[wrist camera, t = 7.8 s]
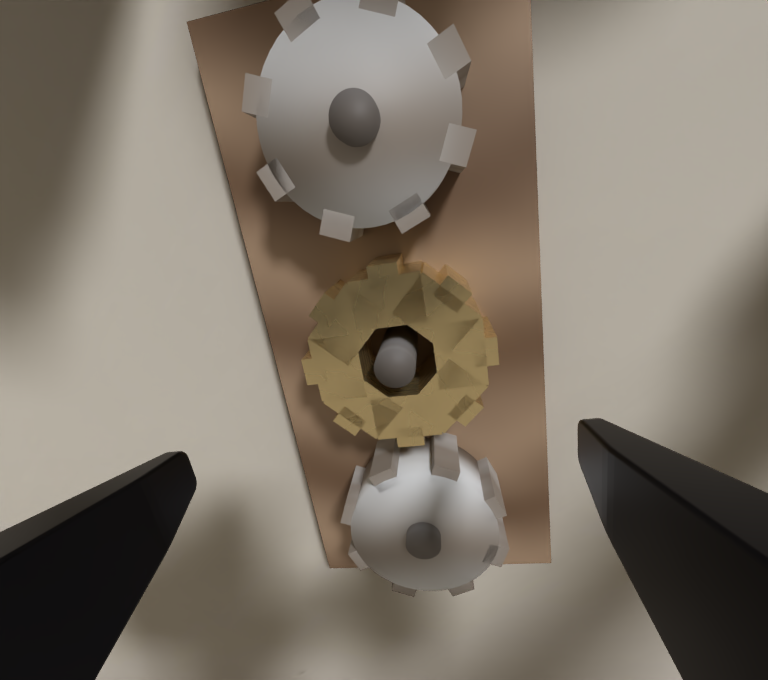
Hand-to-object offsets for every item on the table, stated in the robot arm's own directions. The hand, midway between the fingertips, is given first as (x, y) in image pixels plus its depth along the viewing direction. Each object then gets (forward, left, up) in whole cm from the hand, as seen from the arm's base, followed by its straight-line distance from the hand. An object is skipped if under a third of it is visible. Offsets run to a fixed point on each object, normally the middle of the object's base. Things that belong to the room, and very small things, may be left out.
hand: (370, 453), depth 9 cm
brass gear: (0, 0, -8) cm, 8 cm away
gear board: (0, 0, -9) cm, 9 cm away
